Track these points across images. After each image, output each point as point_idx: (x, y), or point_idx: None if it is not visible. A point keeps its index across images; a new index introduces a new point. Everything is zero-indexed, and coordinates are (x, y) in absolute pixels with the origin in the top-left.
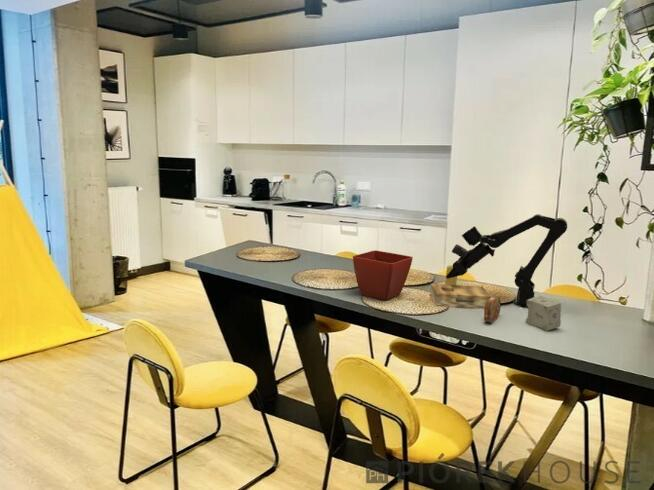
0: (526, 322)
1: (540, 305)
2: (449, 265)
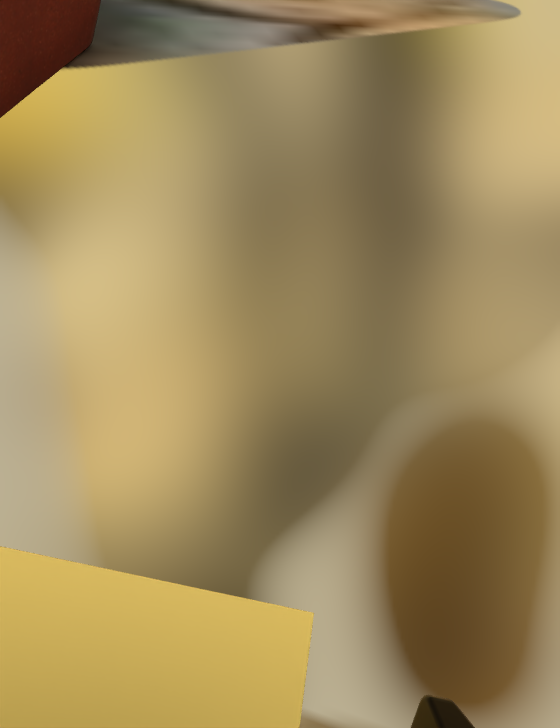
0: None
1: None
2: (254, 650)
